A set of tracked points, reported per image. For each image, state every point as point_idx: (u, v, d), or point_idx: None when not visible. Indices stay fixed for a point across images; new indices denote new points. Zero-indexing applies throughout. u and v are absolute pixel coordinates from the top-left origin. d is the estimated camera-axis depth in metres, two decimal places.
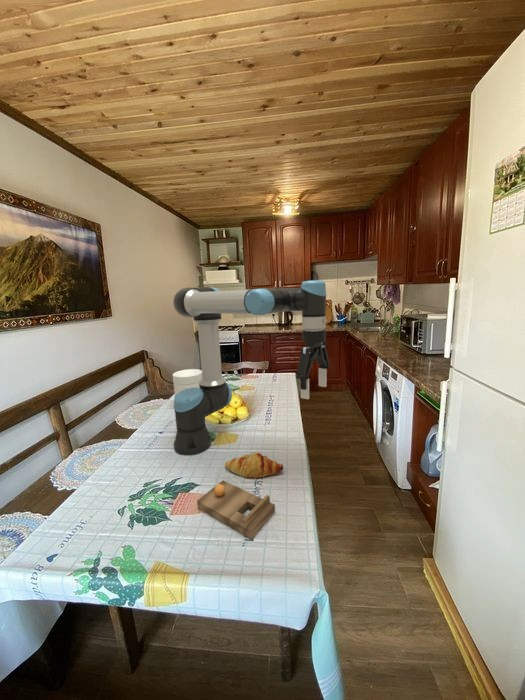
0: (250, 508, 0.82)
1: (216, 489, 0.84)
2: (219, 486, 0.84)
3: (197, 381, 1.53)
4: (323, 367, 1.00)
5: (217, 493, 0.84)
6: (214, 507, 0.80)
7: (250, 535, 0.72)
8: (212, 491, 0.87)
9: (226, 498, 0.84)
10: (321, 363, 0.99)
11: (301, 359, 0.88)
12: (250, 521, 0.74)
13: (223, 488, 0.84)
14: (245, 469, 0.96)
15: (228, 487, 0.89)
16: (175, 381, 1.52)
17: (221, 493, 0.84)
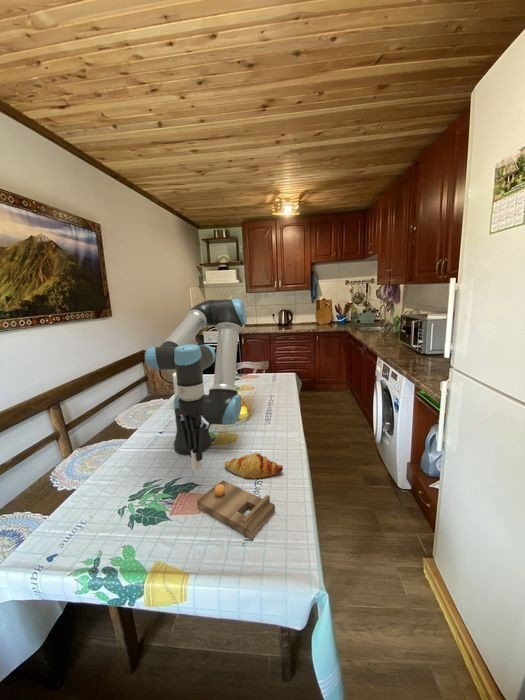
0: (250, 508, 0.82)
1: (216, 489, 0.84)
2: (219, 486, 0.84)
3: None
4: None
5: (217, 493, 0.84)
6: (214, 507, 0.80)
7: (250, 535, 0.72)
8: (212, 491, 0.87)
9: (226, 498, 0.84)
10: None
11: None
12: (250, 521, 0.74)
13: (223, 488, 0.84)
14: (244, 470, 0.96)
15: (228, 487, 0.89)
16: (175, 381, 1.52)
17: (221, 493, 0.84)
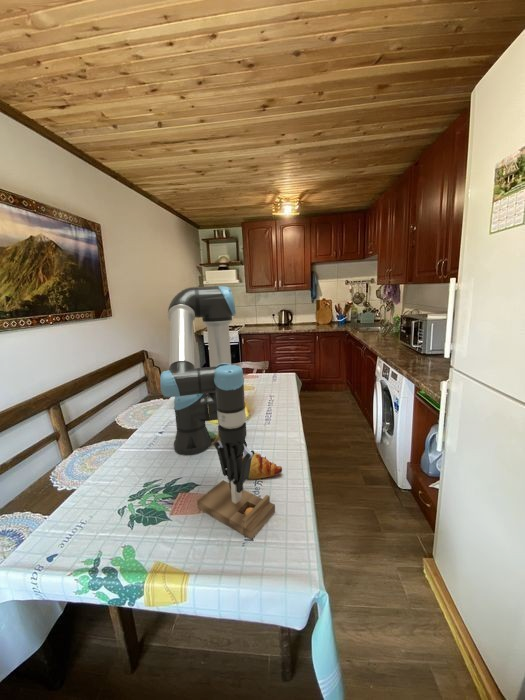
0: None
1: None
2: None
3: None
4: None
5: None
6: (214, 507, 0.80)
7: (250, 535, 0.72)
8: (212, 491, 0.87)
9: (226, 498, 0.84)
10: None
11: None
12: (250, 521, 0.74)
13: None
14: None
15: (228, 487, 0.89)
16: None
17: None
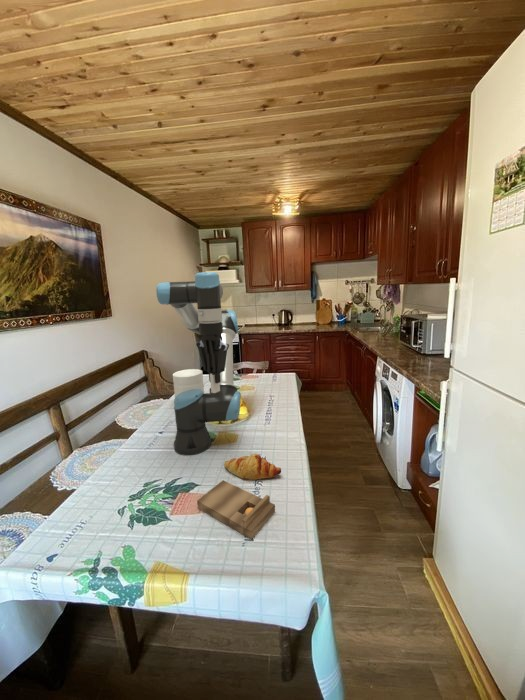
0: None
1: None
2: None
3: (197, 381, 1.53)
4: None
5: None
6: (214, 507, 0.80)
7: (250, 535, 0.72)
8: (212, 491, 0.87)
9: (226, 498, 0.84)
10: None
11: None
12: (250, 521, 0.74)
13: None
14: (242, 470, 0.96)
15: (228, 487, 0.89)
16: (175, 381, 1.52)
17: None
